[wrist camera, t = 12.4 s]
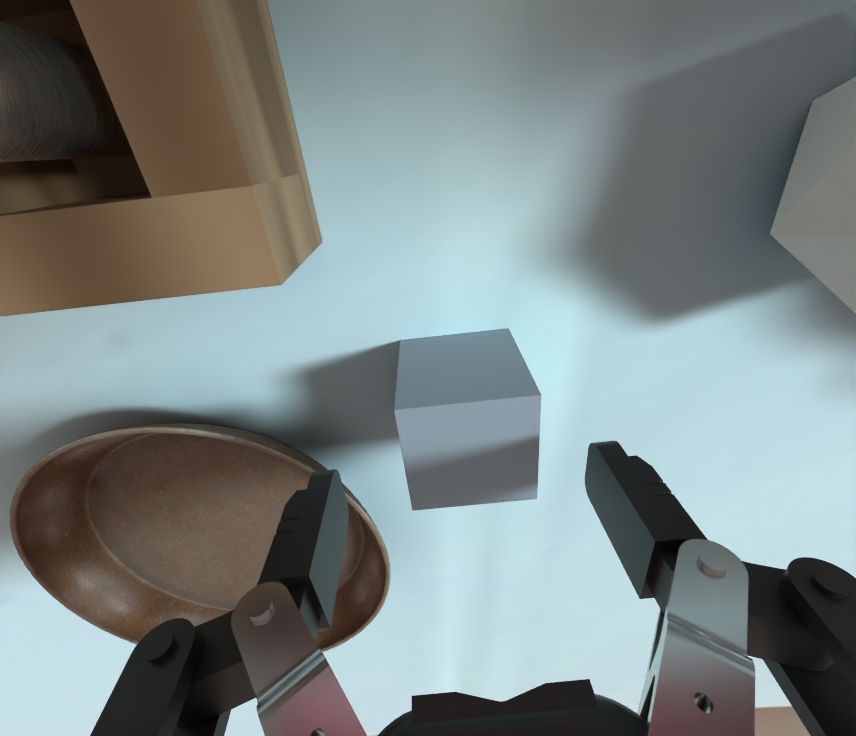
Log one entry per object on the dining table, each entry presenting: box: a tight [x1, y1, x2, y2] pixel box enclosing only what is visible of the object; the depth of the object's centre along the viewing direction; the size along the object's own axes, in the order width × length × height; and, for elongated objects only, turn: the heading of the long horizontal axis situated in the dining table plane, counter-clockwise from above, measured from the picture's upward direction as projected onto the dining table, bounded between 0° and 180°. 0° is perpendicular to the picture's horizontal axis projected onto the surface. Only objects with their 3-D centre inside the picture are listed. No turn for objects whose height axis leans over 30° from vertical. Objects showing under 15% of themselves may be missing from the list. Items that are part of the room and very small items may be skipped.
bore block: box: [0, 0, 322, 316], centre depth 10 cm, size 9×9×5 cm
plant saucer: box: [10, 424, 390, 652], centre depth 21 cm, size 18×18×3 cm
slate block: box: [394, 328, 541, 510], centre depth 15 cm, size 4×4×5 cm
